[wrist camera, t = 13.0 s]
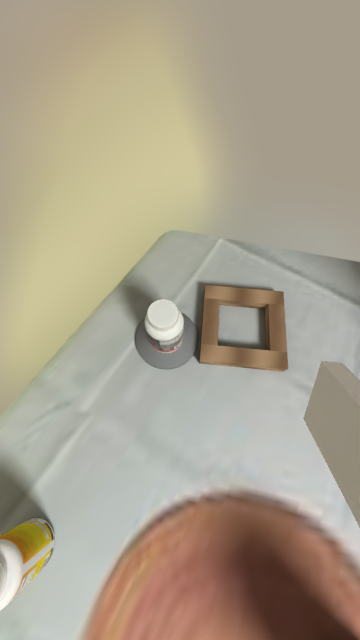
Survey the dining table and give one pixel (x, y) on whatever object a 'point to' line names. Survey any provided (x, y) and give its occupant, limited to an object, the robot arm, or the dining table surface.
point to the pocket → (244, 357)
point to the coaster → (171, 358)
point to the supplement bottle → (23, 556)
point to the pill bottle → (164, 326)
